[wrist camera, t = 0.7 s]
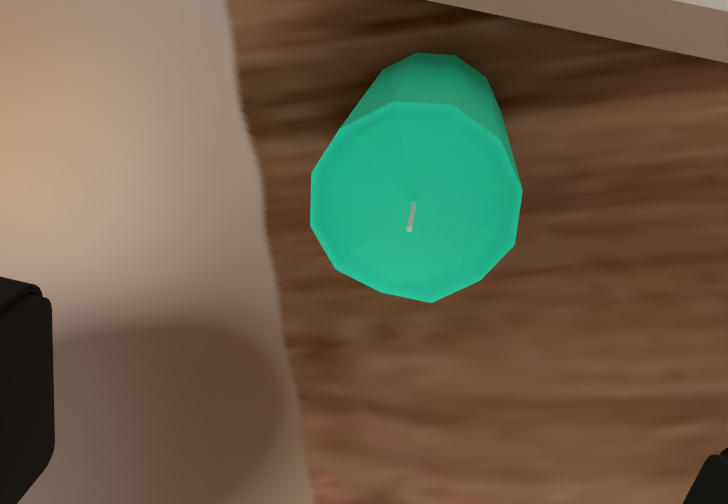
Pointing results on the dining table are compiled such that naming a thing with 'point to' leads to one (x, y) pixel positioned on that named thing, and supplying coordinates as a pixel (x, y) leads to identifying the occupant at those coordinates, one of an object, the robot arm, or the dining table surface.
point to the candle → (419, 182)
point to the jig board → (627, 21)
